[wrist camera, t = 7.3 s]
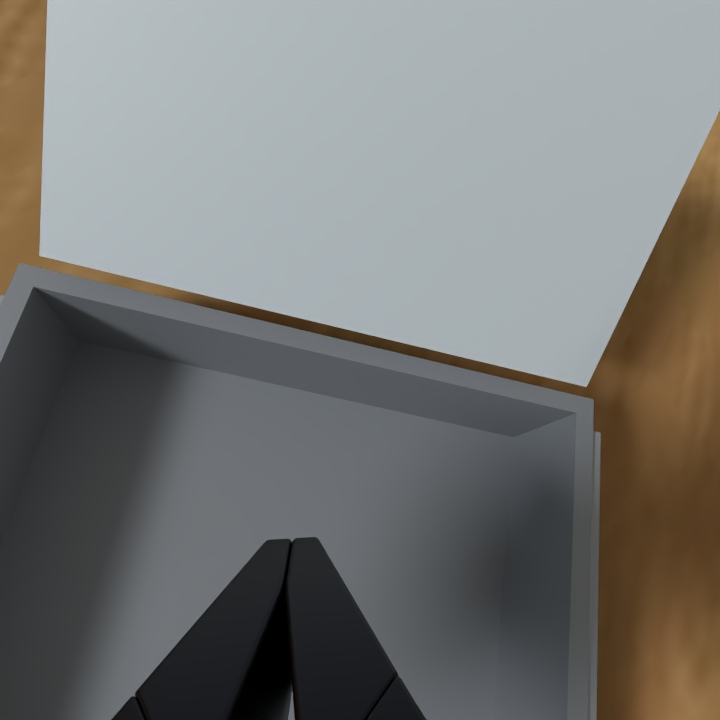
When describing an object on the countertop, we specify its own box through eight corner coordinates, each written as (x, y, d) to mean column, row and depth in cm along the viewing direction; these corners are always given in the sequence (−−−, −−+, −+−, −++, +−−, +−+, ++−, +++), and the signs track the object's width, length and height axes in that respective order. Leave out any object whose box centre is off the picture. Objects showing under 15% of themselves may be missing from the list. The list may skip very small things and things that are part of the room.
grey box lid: (586, 386, 16) (765, 15, 13) (39, 255, 14) (54, -235, 11) (578, 378, 17) (747, 20, 13) (50, 251, 15) (69, -218, 11)
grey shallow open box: (498, 943, 17) (596, 1099, 12) (-164, 882, 14) (-361, 1046, 10) (530, 431, 22) (605, 401, 18) (60, 325, 20) (5, 259, 15)
